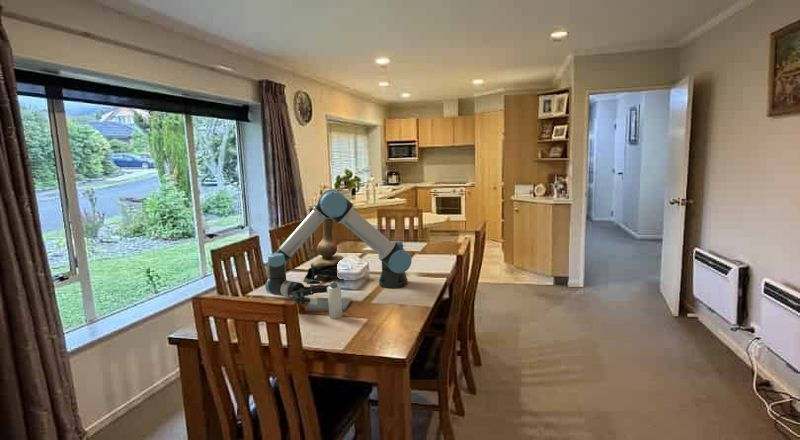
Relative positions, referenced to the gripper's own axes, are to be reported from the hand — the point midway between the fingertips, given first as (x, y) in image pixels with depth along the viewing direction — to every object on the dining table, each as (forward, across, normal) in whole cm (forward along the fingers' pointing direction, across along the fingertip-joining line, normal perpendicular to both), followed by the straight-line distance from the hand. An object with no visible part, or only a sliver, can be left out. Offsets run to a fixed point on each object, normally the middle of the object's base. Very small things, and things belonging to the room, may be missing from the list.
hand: (327, 296), depth 182 cm
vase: (-43, -44, -9) cm, 62 cm away
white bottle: (+3, 0, -8) cm, 9 cm away
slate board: (-8, -9, -8) cm, 15 cm away
